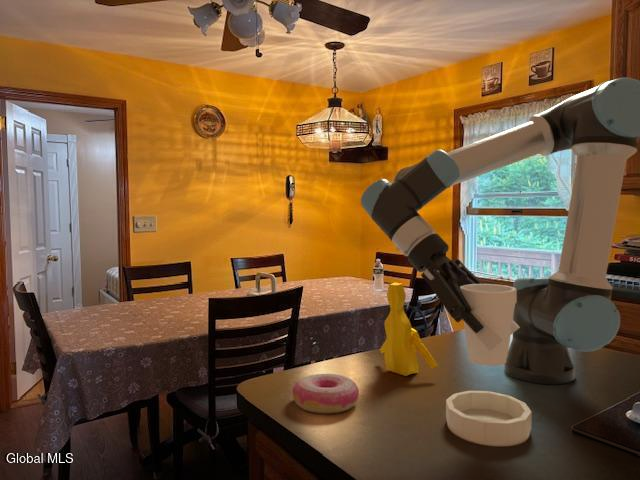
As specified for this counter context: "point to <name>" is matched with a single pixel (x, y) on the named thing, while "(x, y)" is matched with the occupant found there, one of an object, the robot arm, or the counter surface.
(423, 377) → the counter surface
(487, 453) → the counter surface
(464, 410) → the dish
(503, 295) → the foam cup
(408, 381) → the counter surface
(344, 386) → the donut
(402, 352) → the figure statuette
